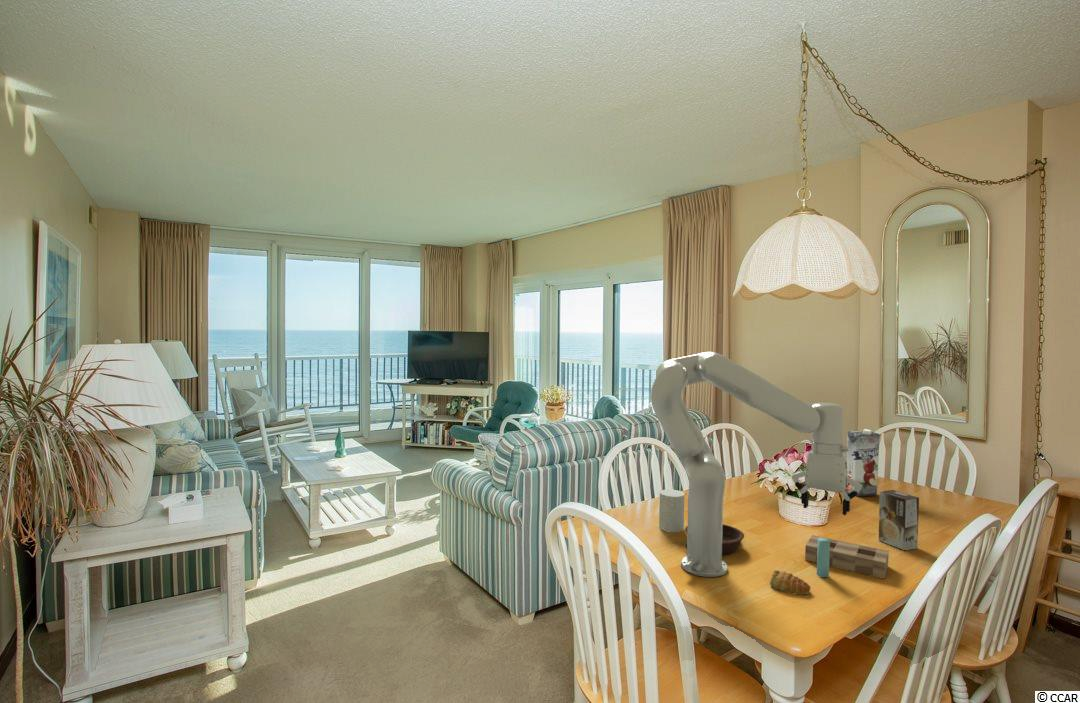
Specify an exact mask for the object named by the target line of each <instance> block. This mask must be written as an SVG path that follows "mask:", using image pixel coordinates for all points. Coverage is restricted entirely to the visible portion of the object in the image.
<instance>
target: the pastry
mask: <svg viewBox="0 0 1080 703" xmlns="http://www.w3.org/2000/svg"><path fill="white" fill-rule="evenodd" d="M769 584H770V586H771V587H773V589H776V590H780V591H782V592H784V591H785V593H789V592H790V593H789V594H793V593H796V594H795V595H798V594H801V595H804V594H806V595H809V593H810V591H811V586H810V585H809V584H808V583H807V582H806V581H804V579H802V578H799V576H795V575H794V574H793V573H791V572H790V573H789V572H786V571H780V570H777V569H775V570H774V571H773V573H772V574H771V577H770V582H769Z"/></svg>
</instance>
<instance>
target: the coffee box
mask: <svg viewBox="0 0 1080 703" xmlns="http://www.w3.org/2000/svg"><path fill="white" fill-rule="evenodd" d="M878 503H879V505H878V506H879V507H878V508H879V512H878V542H881V541H882V543H883V542H884V543H883V544H886V543H887V544H886V545H889V546H891V545H892V547H894V546H895V547H894V548H896V547H897V548H896V549H899V548H900V549H899V550H901V549H902V550H903V551H904V550H906V551H910V549H911V550H916V549H918V546H919V544H918V542H919V513H920V512H919V510H920V508H919V507H920V506H919V505H920V497H918V496H915V495H911V494H909V493H904V492H901V491H897V490H894V489H889V490H883V491H879V502H878ZM902 550H901V551H902Z"/></svg>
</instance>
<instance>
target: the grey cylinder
mask: <svg viewBox="0 0 1080 703" xmlns="http://www.w3.org/2000/svg"><path fill="white" fill-rule="evenodd" d="M658 511H659V513H658V515H659V516H658V528H659V530H661V529H662V531H663V532H667V531H669V532H668V533H680V532H679V531H681V532H683V531H684V530H685V492H683V491H681V490H677V489H672V488H671V489H662V490H659V510H658ZM683 529H684V530H683ZM682 530H683V531H682Z"/></svg>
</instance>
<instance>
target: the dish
mask: <svg viewBox="0 0 1080 703" xmlns="http://www.w3.org/2000/svg"><path fill="white" fill-rule="evenodd" d="M687 531H688V525H687V526H686V527H684V532H685V534H686V535H687ZM744 538H745V534H744V532H743V531H741V530H740V529H738V528H737V527H734V526H731V525H727V524H723V530H722V555H729V554H732V553H735V552H736V551H737V550H738V549H739V548H740V546H741V543H742V541H743V539H744ZM684 547H685V549H686V550H687V540H686V541H685V543H684Z"/></svg>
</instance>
